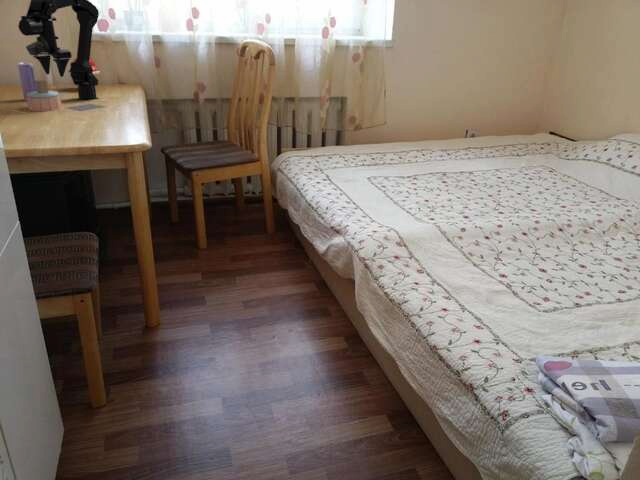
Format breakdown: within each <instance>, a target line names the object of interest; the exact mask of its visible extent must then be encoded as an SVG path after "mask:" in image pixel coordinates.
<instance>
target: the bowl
mask: <svg viewBox="0 0 640 480" xmlns="http://www.w3.org/2000/svg"><path fill="white" fill-rule="evenodd" d="M26 98H27V101H26V102H27V108H28V110H29V111H35V112H47V111H55V110H57V111H58V110H60V109H62V108H63V103H62V99H61V95H60V94H59V96H57V97H53V98H29V97H28V96H26Z"/></svg>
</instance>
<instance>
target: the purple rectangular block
mask: <svg viewBox="0 0 640 480" xmlns="http://www.w3.org/2000/svg"><path fill="white" fill-rule="evenodd" d="M17 68H18V74H19V79H20V85H21V91H22V94H23V99H24V101H26V102H27V98H26V96H27V93H29V92H34V91H37V89H36V83H35V80H37V76H36V70H35V66H34V63H33V62H18V63H17Z"/></svg>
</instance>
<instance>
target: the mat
mask: <svg viewBox="0 0 640 480" xmlns="http://www.w3.org/2000/svg"><path fill="white" fill-rule="evenodd" d="M102 108H106V105H105V106H104V105H99V104H94V103H87V104H81V105H74V106H68V107H65V109H68V110H73V111H79V112H83V111H90V110H95V109H102Z"/></svg>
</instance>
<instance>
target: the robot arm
mask: <svg viewBox="0 0 640 480" xmlns="http://www.w3.org/2000/svg"><path fill="white" fill-rule="evenodd" d="M67 7H71V9H72V11H73V12H74V13H76V20H77V21H78V24H79V31H78V40H77V41H78V42H77V51H76V58H75V59H76V61H75V62H73V61H71V62H70V69H69V70H70V72H71V74H70V78H71V80H72V81H73V84H74V86H77V85H78V87H77V94H78V97H77V100H80V101H81V100H82V101H93V100H99V99H100V98H99V97H97V91H96V86H98V85H99V79H98V78H97V77H96V76H95V74H94V75H93V69H92V67H91V65H90V62H89V60H91V58H90V57H91V48H92V37H93V28H94V27H95V25H96V24H97V23H98V20H99V15H100V14H99V13H100V11H99V9H98V7H97V6H96V5H95V4H93V3H92V2H91V1H89V0H30V3H29V5H28V8H27V12H26V15H21V16H20V18H21V19H20V20H19V22H18V24H17V25H18V30H19V32H20V33H21V34H22V35H24V36H25V37H26V36H27V37H28V36H30V37H31V36H36V41H34V42H32V43H30V44H28V45H26V46H25V49H26V50H27V53H28V54H29V55H30V56H32V57H33V58H35V59H36V60H37V61H38V62H39V63H40V65H41V67H42V69H43V71H44V72H45V74H46V75H49V74H50V71H51V60H53V62H54V63H56V67H57V70H58V73H59V77H64V76H65V72H66V68H67V66H68V64H69V61H70V60H71V58H73V56H72V51H70V50H69V49H61V47H58V44H57V42H58V41H57V40H59V37H58V36H56V32H55V27H54V26H55V25H54V22H55V21H57V18H56V16H53V14H55V13H56V12H57V10H59V9H62V8H67ZM51 57H52V59H51Z"/></svg>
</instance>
